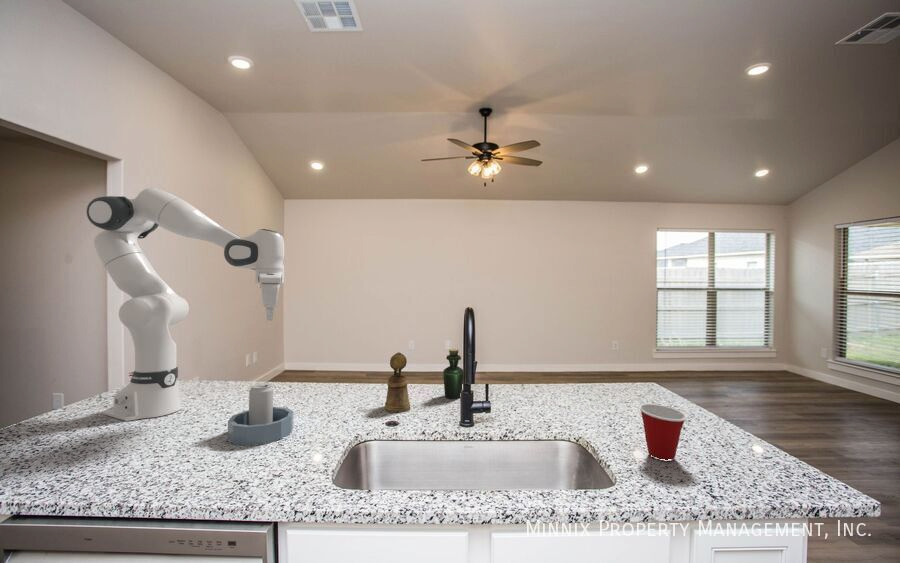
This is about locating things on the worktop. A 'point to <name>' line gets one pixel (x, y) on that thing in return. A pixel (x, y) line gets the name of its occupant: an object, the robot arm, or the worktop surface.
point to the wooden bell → (397, 386)
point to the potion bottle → (453, 376)
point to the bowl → (260, 428)
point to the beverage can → (261, 404)
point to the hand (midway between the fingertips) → (269, 319)
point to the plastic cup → (662, 429)
